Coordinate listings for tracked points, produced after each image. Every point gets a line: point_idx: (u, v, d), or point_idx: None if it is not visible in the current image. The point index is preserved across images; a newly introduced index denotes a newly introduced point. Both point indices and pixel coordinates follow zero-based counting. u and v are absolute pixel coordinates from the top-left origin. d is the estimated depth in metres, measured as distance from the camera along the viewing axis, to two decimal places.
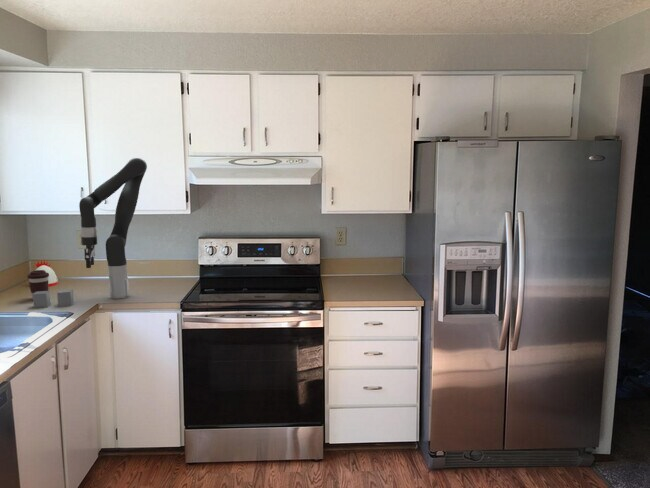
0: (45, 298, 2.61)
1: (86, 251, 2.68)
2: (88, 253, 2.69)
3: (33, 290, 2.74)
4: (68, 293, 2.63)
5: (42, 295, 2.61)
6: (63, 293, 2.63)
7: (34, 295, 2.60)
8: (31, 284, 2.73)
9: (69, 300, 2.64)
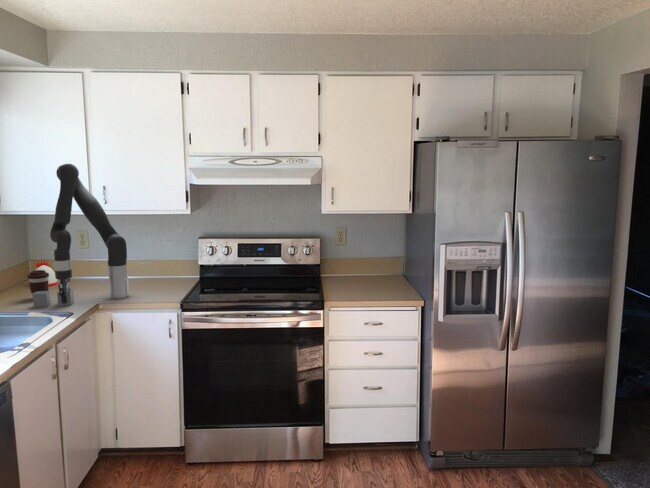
0: (45, 298, 2.61)
1: (60, 287, 2.59)
2: (63, 289, 2.59)
3: (33, 290, 2.74)
4: (68, 293, 2.63)
5: (42, 295, 2.61)
6: None
7: (34, 295, 2.60)
8: (31, 284, 2.73)
9: (69, 300, 2.64)
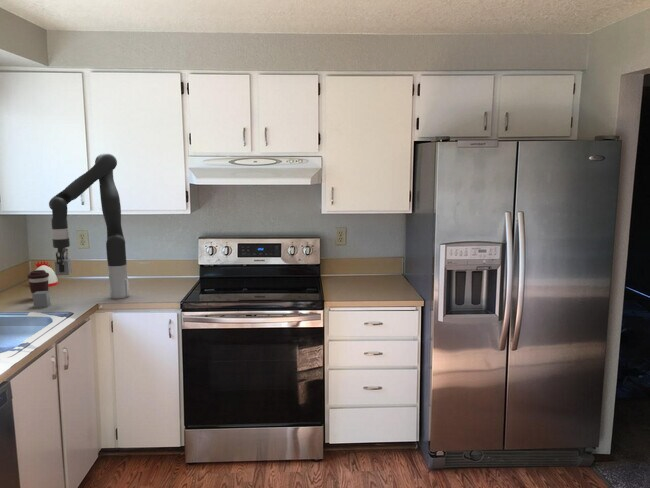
0: (45, 298, 2.61)
1: (58, 255, 2.57)
2: (60, 257, 2.57)
3: (33, 290, 2.74)
4: (65, 262, 2.61)
5: (42, 295, 2.61)
6: None
7: (34, 295, 2.60)
8: (31, 284, 2.73)
9: (67, 269, 2.62)
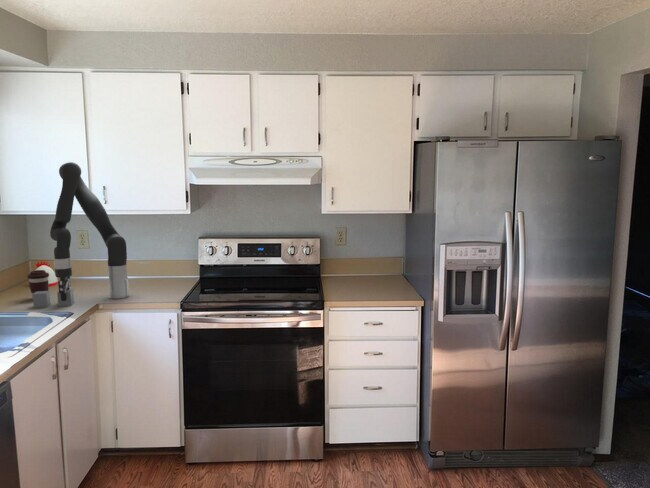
0: (45, 298, 2.61)
1: (60, 284, 2.58)
2: (62, 286, 2.59)
3: (33, 290, 2.74)
4: (68, 293, 2.63)
5: (42, 295, 2.61)
6: None
7: (34, 295, 2.60)
8: (31, 284, 2.73)
9: (69, 300, 2.64)
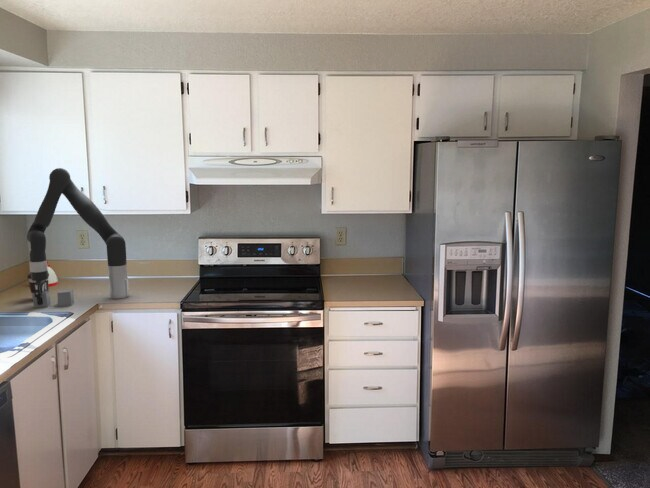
0: (45, 298, 2.61)
1: (36, 288, 2.56)
2: (38, 290, 2.57)
3: (33, 290, 2.74)
4: (68, 293, 2.63)
5: (42, 295, 2.61)
6: (63, 293, 2.63)
7: (34, 295, 2.60)
8: (31, 284, 2.73)
9: (69, 300, 2.64)
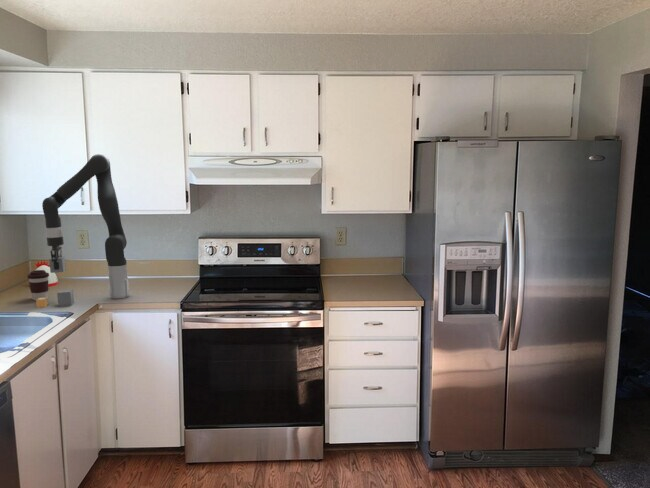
0: (61, 263, 2.70)
1: (52, 253, 2.65)
2: (55, 255, 2.66)
3: (33, 290, 2.74)
4: (68, 293, 2.63)
5: None
6: (63, 293, 2.63)
7: (50, 260, 2.69)
8: (31, 284, 2.73)
9: (69, 300, 2.64)
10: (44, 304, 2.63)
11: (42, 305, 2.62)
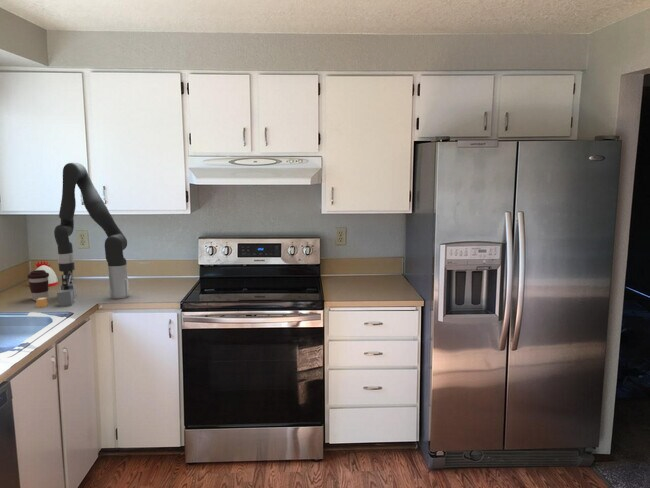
0: None
1: (63, 277, 2.73)
2: (65, 279, 2.74)
3: (33, 290, 2.74)
4: (68, 293, 2.63)
5: (69, 287, 2.78)
6: (63, 293, 2.63)
7: (62, 287, 2.77)
8: (31, 284, 2.73)
9: (69, 300, 2.64)
10: (44, 304, 2.63)
11: (42, 305, 2.62)
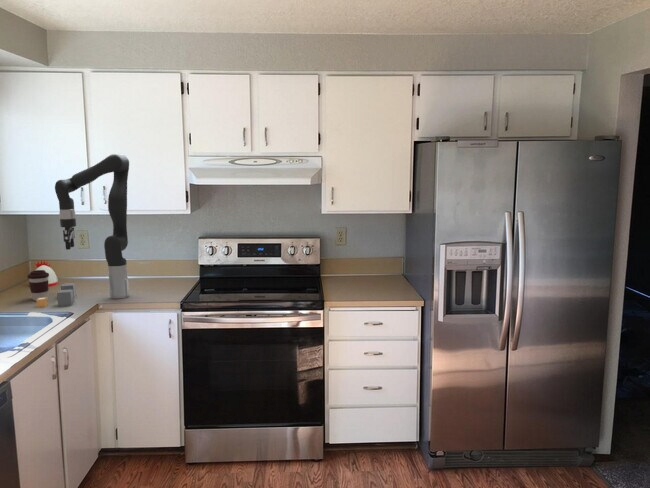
0: None
1: (65, 232, 2.72)
2: (67, 234, 2.73)
3: (33, 290, 2.74)
4: (68, 293, 2.63)
5: (69, 287, 2.78)
6: (63, 293, 2.63)
7: (62, 287, 2.77)
8: (31, 284, 2.73)
9: (69, 300, 2.64)
10: (44, 304, 2.63)
11: (42, 305, 2.62)
